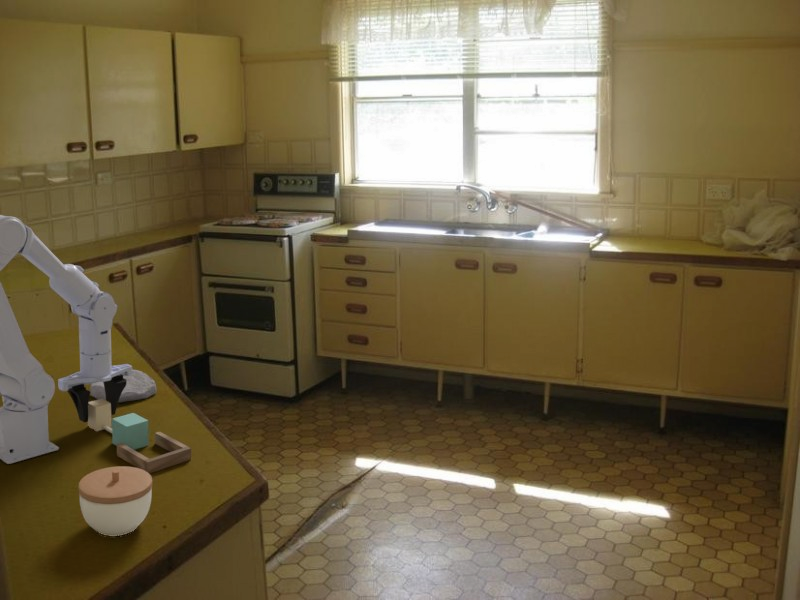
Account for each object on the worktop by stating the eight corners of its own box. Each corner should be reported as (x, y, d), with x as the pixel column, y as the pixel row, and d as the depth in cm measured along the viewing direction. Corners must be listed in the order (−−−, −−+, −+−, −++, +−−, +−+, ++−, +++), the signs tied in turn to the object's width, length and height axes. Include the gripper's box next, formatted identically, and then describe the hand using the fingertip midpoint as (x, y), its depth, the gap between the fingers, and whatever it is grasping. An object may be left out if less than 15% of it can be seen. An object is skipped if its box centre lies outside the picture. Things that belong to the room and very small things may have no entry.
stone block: (161, 401, 189) (133, 381, 195) (163, 382, 188) (135, 363, 193) (113, 418, 180) (86, 396, 186) (115, 398, 179) (87, 377, 184)
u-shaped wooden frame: (191, 459, 158) (191, 448, 158) (147, 473, 152) (147, 462, 151) (159, 442, 164) (159, 431, 164) (116, 455, 158) (116, 444, 157)
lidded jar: (127, 503, 141) (125, 450, 139) (167, 527, 135) (166, 471, 132) (66, 526, 133) (63, 470, 131) (105, 553, 126) (103, 494, 124)
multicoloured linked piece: (148, 445, 163) (148, 420, 162) (127, 451, 160) (126, 426, 158) (105, 421, 173) (105, 397, 171) (84, 427, 169) (84, 403, 168)
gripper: (70, 363, 159) (73, 432, 162) (140, 348, 169) (141, 413, 173) (51, 354, 163) (54, 421, 166) (120, 340, 174) (122, 403, 177)
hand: (97, 416), depth 170 cm, fingers open, 5 cm apart
